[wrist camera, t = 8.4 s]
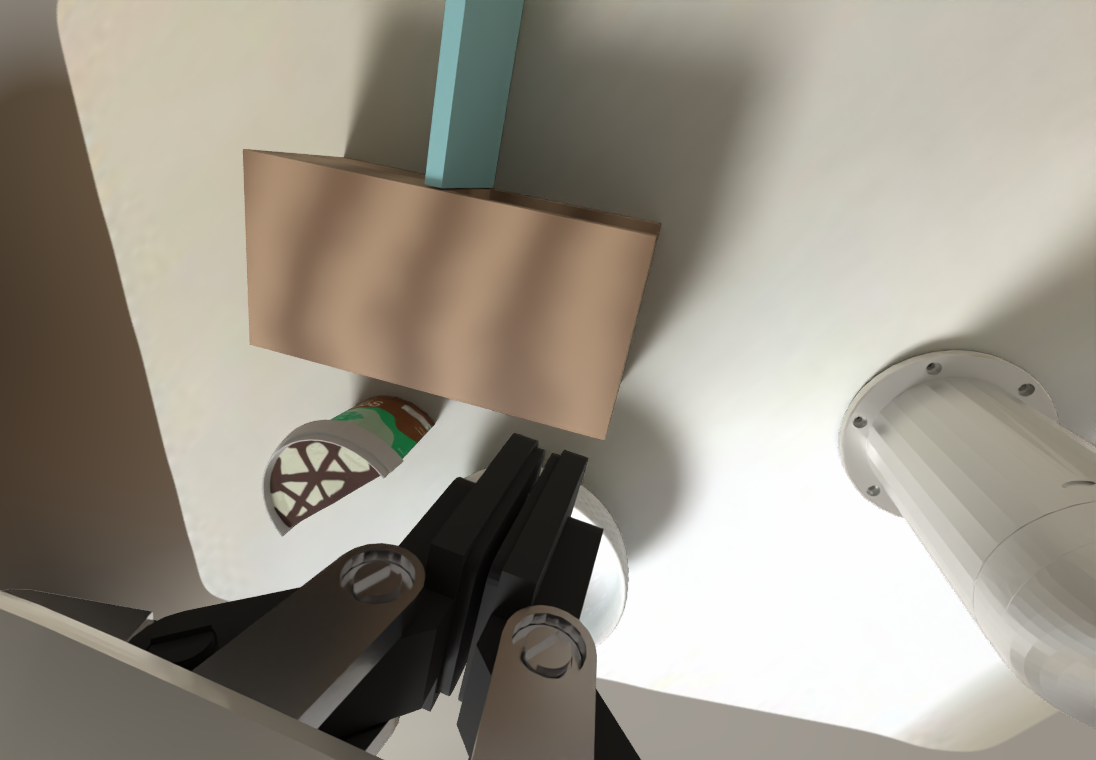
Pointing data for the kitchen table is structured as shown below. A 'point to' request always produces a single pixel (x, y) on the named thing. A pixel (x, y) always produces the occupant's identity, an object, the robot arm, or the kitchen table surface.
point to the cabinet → (444, 285)
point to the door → (472, 91)
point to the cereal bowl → (600, 567)
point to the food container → (339, 457)
